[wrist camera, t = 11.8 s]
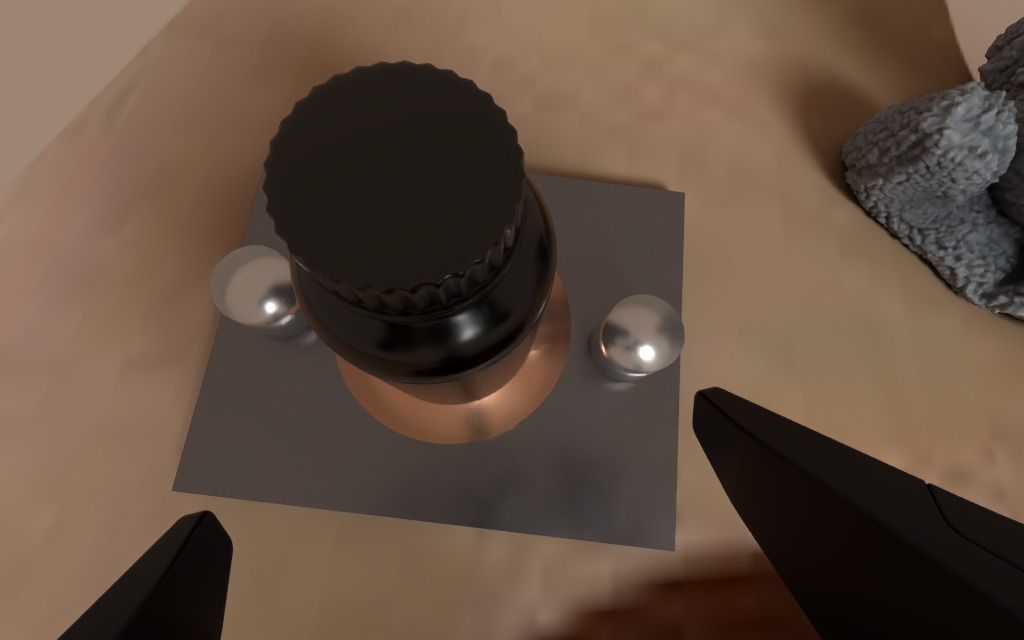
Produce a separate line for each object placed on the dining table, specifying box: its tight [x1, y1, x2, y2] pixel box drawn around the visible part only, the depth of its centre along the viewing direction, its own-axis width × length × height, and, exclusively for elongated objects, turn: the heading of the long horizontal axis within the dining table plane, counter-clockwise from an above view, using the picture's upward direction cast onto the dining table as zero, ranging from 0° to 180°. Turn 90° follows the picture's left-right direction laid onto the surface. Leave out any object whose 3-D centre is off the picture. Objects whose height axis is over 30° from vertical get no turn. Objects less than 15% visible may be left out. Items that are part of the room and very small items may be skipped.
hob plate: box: [172, 147, 685, 551], centre depth 20 cm, size 20×16×4 cm
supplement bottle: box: [262, 61, 557, 405], centre depth 14 cm, size 7×7×12 cm
